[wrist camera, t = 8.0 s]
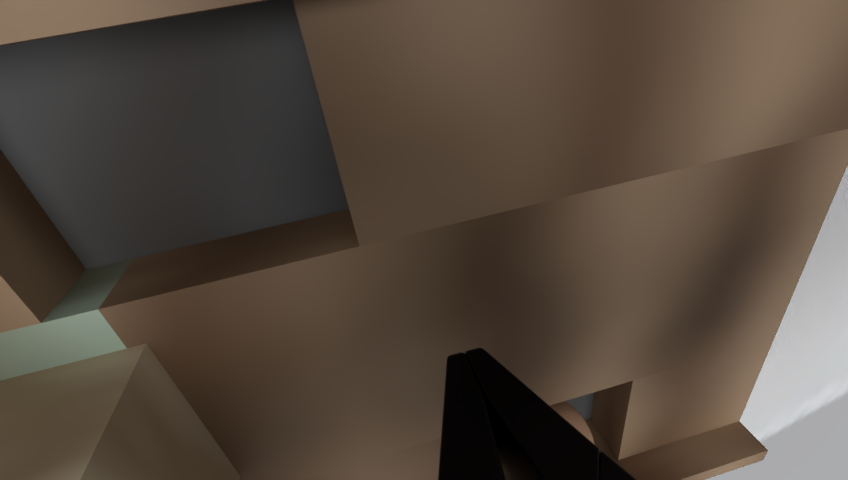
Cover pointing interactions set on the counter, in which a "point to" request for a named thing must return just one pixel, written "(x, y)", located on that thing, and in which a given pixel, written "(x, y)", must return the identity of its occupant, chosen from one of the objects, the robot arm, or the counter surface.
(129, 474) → the maple block
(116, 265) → the trap box
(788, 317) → the counter surface
